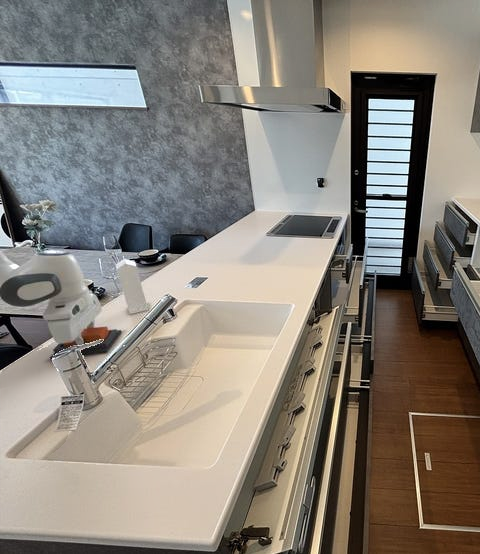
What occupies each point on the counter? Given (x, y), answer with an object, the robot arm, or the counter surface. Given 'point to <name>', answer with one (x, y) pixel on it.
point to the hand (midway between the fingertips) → (86, 338)
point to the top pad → (92, 335)
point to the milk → (131, 286)
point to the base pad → (97, 348)
